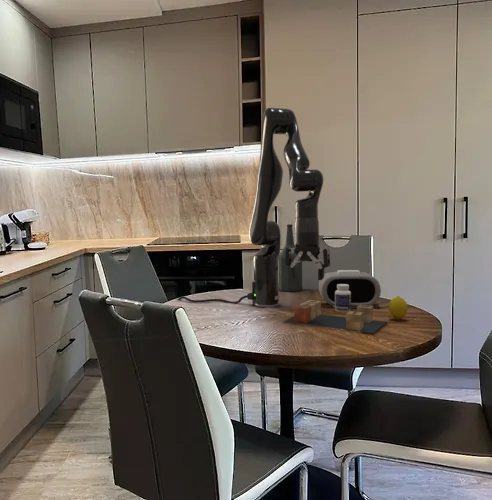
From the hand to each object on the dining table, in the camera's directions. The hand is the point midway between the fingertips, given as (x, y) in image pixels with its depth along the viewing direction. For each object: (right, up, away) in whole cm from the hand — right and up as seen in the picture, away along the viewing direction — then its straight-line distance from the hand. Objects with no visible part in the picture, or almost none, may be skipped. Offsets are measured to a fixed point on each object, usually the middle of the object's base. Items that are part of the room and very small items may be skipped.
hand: (307, 279), depth 162 cm
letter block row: (+15, -15, -6) cm, 22 cm away
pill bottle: (+18, -13, +15) cm, 27 cm away
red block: (-1, -14, +1) cm, 14 cm away
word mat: (+9, -15, -1) cm, 17 cm away
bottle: (+12, -9, +59) cm, 61 cm away
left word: (+4, -14, +7) cm, 16 cm away
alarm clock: (+24, -12, +23) cm, 35 cm away
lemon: (+30, -14, 0) cm, 33 cm away
